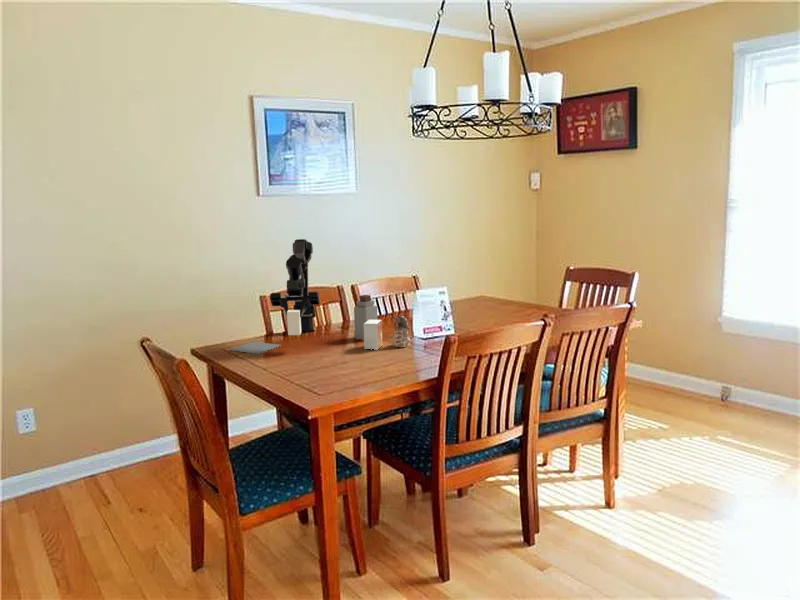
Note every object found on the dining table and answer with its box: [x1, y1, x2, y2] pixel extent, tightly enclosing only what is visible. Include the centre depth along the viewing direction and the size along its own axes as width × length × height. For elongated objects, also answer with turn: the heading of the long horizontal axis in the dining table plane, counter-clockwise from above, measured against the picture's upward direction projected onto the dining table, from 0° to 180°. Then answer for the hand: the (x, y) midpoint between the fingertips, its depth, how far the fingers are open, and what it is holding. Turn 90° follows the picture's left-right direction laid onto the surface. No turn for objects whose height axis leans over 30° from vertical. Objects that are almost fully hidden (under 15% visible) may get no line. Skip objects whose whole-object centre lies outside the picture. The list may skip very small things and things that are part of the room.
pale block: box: [286, 309, 302, 336], centre depth 242 cm, size 4×4×9 cm
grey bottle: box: [353, 294, 379, 340], centre depth 261 cm, size 7×7×18 cm
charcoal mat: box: [230, 341, 282, 355], centre depth 250 cm, size 14×14×1 cm
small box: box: [363, 319, 384, 351], centre depth 246 cm, size 8×6×10 cm
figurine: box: [392, 315, 412, 348], centre depth 248 cm, size 7×7×12 cm
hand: (294, 316), depth 242 cm, fingers closed on pale block, 4 cm apart
